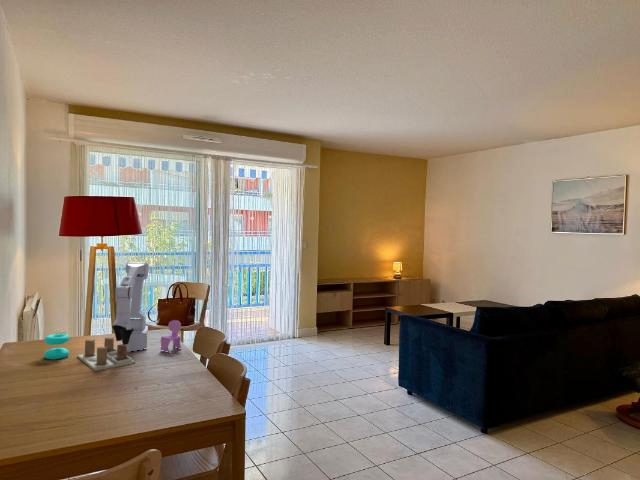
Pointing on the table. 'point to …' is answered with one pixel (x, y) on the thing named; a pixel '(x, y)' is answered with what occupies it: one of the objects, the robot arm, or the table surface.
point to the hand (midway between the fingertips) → (122, 342)
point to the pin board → (102, 355)
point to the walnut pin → (121, 352)
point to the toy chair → (171, 336)
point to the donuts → (56, 352)
